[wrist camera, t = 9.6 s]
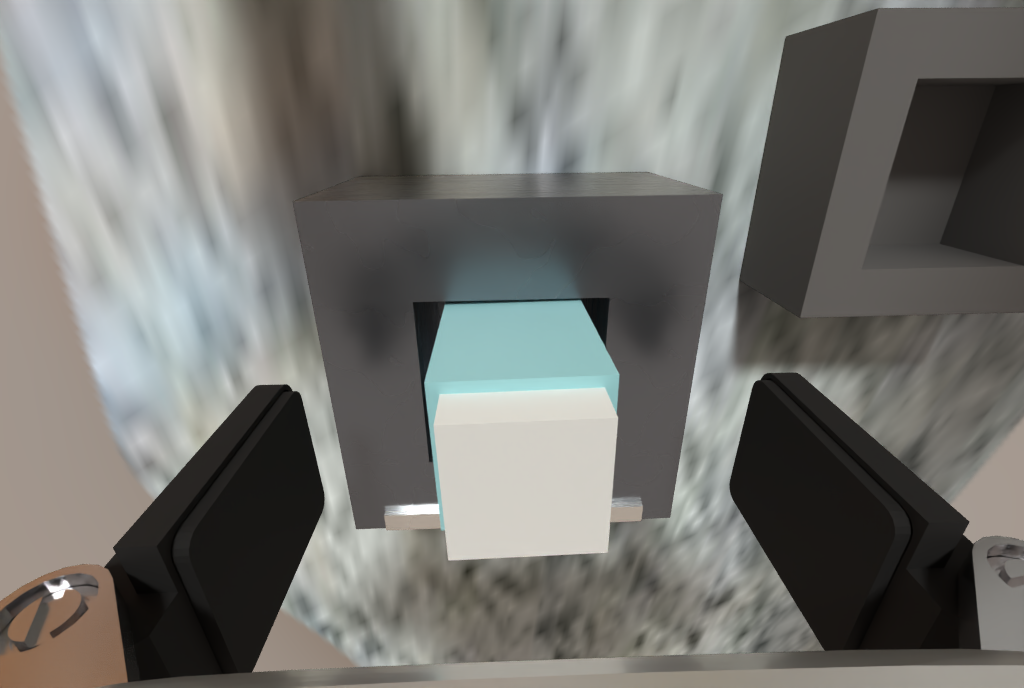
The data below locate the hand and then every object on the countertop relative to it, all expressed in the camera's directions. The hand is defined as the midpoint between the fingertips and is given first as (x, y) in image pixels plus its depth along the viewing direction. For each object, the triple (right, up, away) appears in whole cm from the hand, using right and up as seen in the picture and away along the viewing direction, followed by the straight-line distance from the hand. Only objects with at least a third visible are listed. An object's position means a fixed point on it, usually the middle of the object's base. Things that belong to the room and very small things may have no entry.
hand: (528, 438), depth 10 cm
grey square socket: (+12, +8, +7) cm, 16 cm away
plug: (0, +3, +8) cm, 8 cm away
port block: (-1, +3, +9) cm, 9 cm away
